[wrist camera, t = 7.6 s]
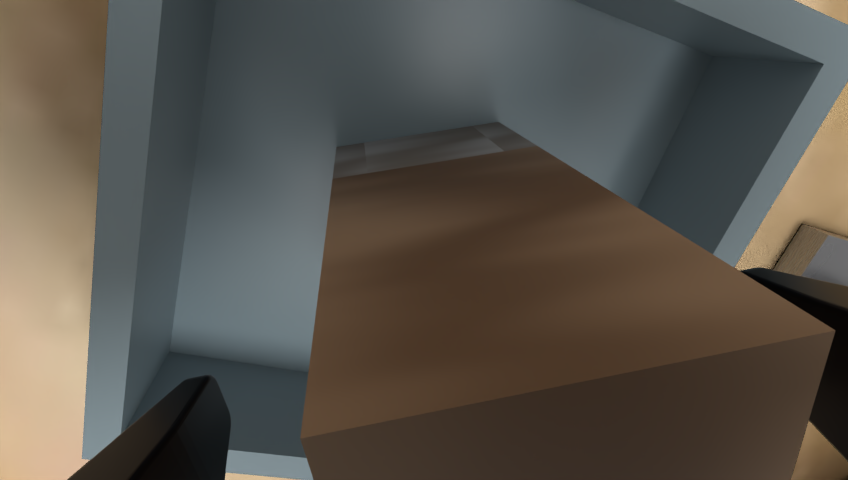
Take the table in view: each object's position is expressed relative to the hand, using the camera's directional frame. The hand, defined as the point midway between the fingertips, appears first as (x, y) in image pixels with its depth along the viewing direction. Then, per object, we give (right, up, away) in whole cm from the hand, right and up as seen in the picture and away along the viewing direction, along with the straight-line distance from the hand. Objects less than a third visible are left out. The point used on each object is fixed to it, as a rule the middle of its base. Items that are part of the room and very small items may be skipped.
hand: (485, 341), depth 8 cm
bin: (-1, +3, +6) cm, 7 cm away
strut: (-1, +3, +6) cm, 6 cm away
